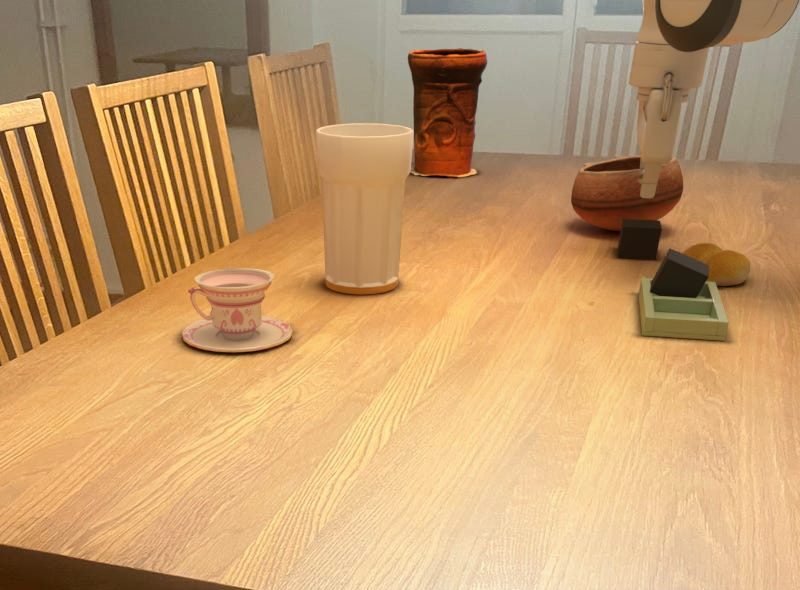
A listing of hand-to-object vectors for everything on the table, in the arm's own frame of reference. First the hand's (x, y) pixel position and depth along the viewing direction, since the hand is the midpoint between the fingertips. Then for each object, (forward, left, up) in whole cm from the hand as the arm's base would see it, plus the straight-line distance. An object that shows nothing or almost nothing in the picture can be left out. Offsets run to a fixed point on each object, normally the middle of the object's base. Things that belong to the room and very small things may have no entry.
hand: (645, 190), depth 128 cm
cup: (+34, +23, -8) cm, 42 cm away
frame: (-4, +28, -8) cm, 29 cm away
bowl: (+2, -15, -8) cm, 17 cm away
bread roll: (-9, +11, -8) cm, 16 cm away
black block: (0, 0, -8) cm, 8 cm away
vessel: (+35, -57, -8) cm, 67 cm away
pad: (-3, +24, -7) cm, 25 cm away
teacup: (+43, +46, -8) cm, 63 cm away
